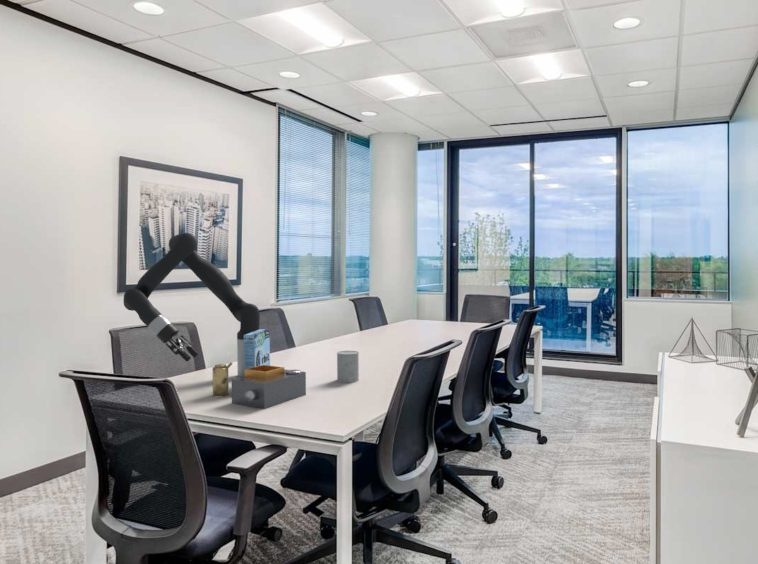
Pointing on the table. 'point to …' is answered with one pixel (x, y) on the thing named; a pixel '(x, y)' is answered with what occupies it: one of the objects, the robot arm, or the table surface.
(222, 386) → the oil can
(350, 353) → the grey stone cylinder
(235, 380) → the grey box with knob
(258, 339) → the gum box
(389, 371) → the table surface
